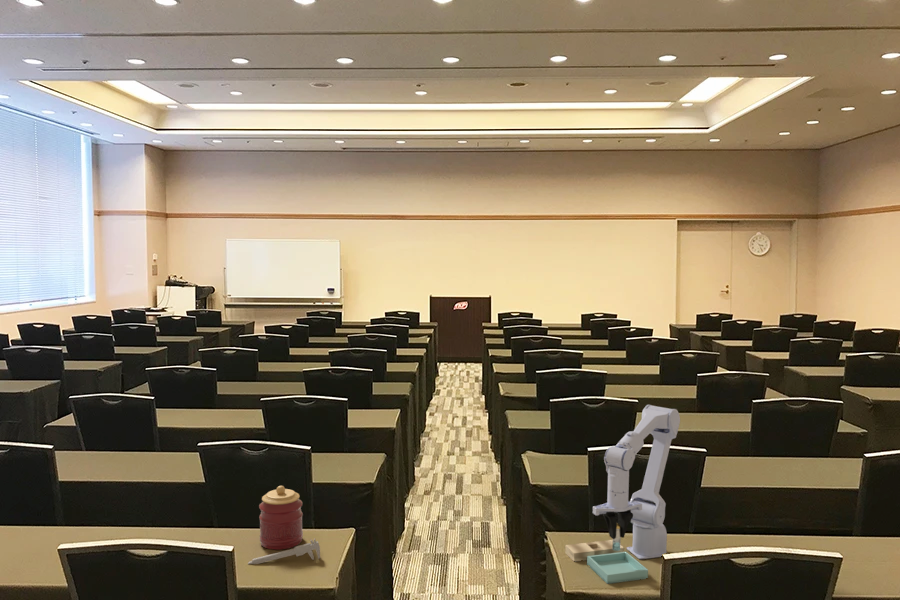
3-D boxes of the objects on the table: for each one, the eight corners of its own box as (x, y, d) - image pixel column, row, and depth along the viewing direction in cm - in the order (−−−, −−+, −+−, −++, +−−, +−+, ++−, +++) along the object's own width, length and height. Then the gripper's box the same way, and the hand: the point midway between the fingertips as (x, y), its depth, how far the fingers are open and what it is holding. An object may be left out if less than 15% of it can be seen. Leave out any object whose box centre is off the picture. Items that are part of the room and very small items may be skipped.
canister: (255, 550, 224) (254, 493, 222) (265, 533, 237) (264, 479, 235) (298, 550, 224) (298, 493, 223) (306, 533, 237) (305, 479, 236)
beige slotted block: (613, 547, 227) (614, 539, 227) (623, 555, 222) (623, 547, 222) (565, 553, 223) (565, 545, 223) (573, 561, 217) (574, 553, 217)
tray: (625, 559, 219) (625, 551, 219) (647, 578, 207) (648, 569, 207) (586, 564, 216) (587, 556, 215) (607, 583, 204) (607, 575, 203)
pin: (617, 547, 213) (618, 521, 212) (621, 550, 210) (622, 524, 210) (610, 548, 212) (611, 522, 211) (614, 551, 210) (615, 525, 209)
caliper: (322, 556, 219) (317, 537, 219) (322, 558, 219) (317, 538, 218) (251, 575, 216) (246, 556, 215) (251, 577, 215) (246, 557, 214)
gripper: (633, 482, 216) (632, 528, 217) (587, 487, 211) (586, 534, 212) (646, 490, 209) (645, 538, 210) (600, 495, 205) (598, 544, 206)
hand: (616, 536), depth 211 cm, fingers closed on pin, 2 cm apart
